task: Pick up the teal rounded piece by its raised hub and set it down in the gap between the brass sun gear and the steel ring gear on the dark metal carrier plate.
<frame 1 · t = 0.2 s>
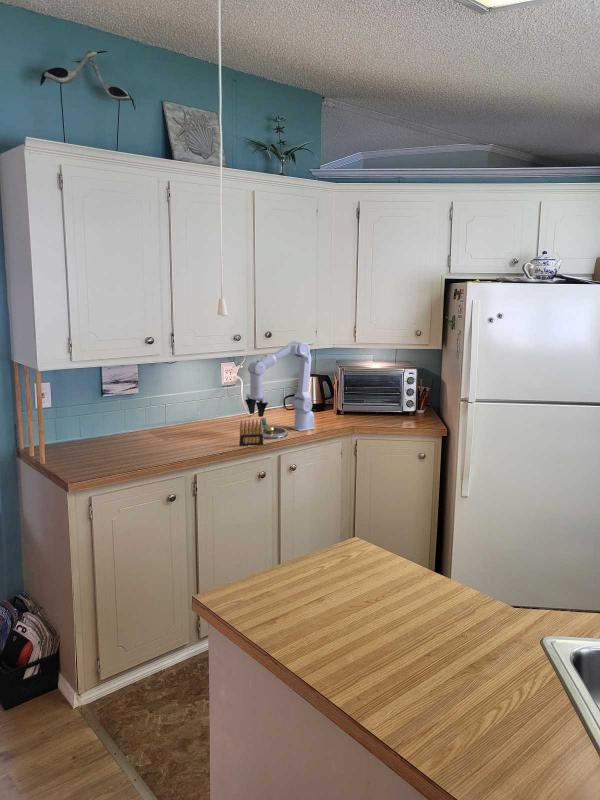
hand: (256, 415, 311), 10 cm above the counter, tool pointing down, fingers open, 7 cm apart
teal rounded piece: (263, 428, 328), on the counter
ammunition clip: (251, 445, 296), on the counter
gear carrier: (270, 434, 315), on the counter
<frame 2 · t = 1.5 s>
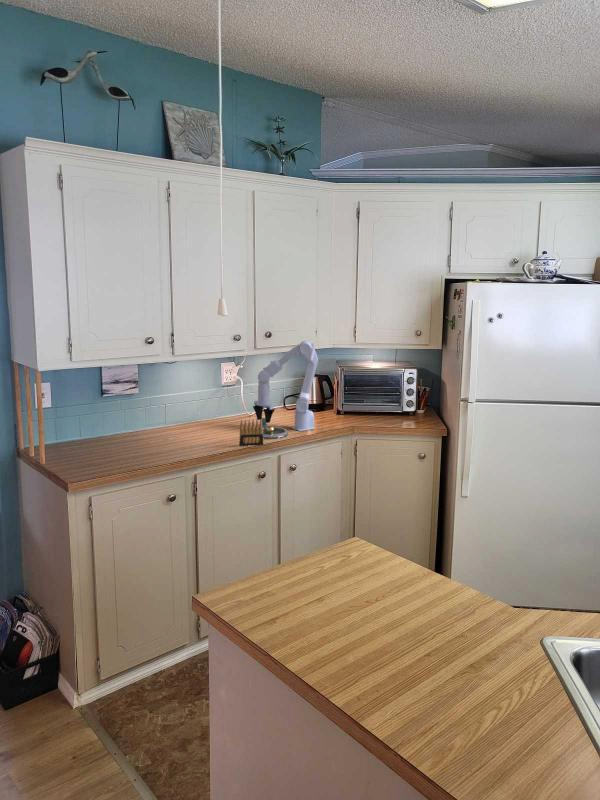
hand: (263, 421, 328), 4 cm above the counter, tool pointing down, fingers open, 7 cm apart
nothing on the counter moved.
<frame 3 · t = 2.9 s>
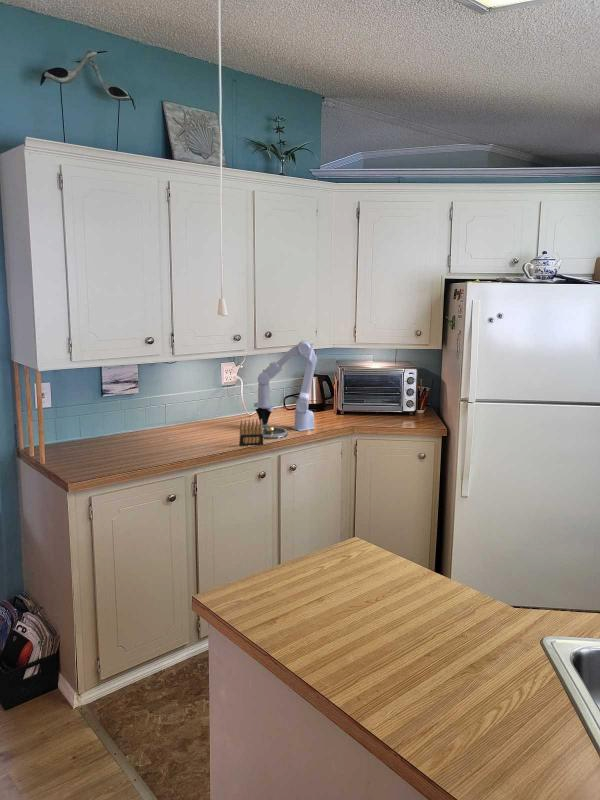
hand: (263, 423, 328), 3 cm above the counter, tool pointing down, fingers closed on teal rounded piece, 2 cm apart
teal rounded piece: (263, 428, 328), on the counter, touching gripper
everything else where it was.
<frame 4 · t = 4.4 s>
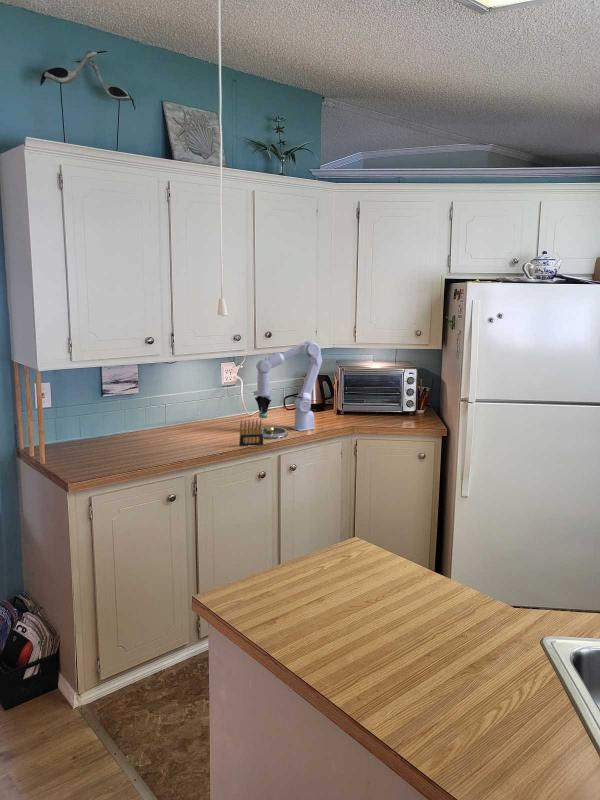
hand: (263, 411, 321), 10 cm above the counter, tool pointing down, fingers closed on teal rounded piece, 2 cm apart
teal rounded piece: (263, 417, 321), point 7 cm above the counter, touching gripper
everything else where it was.
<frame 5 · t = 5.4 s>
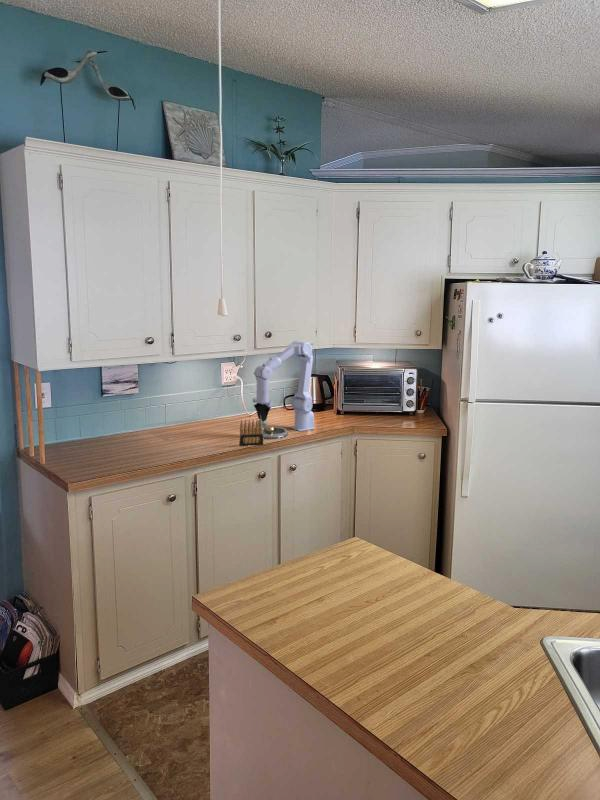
hand: (262, 419, 311), 8 cm above the counter, tool pointing down, fingers closed on teal rounded piece, 2 cm apart
teal rounded piece: (262, 424, 311), point 5 cm above the counter, touching gripper
everything else where it was.
when the fingers open (4 cm above the counter, at t = 6.2 s): teal rounded piece stays where it is, resting on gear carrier.
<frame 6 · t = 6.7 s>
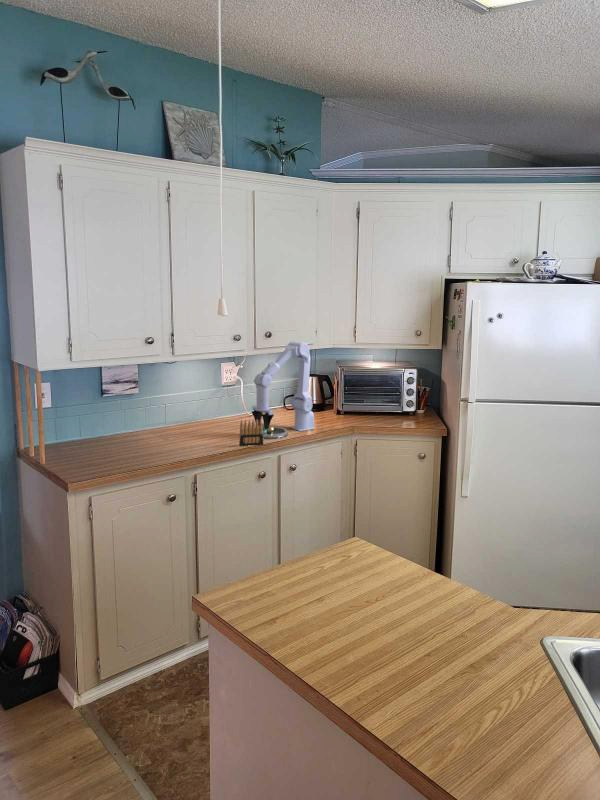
hand: (262, 427, 312), 4 cm above the counter, tool pointing down, fingers open, 6 cm apart
teal rounded piece: (262, 434, 312), point 1 cm above the counter, touching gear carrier
everything else where it was.
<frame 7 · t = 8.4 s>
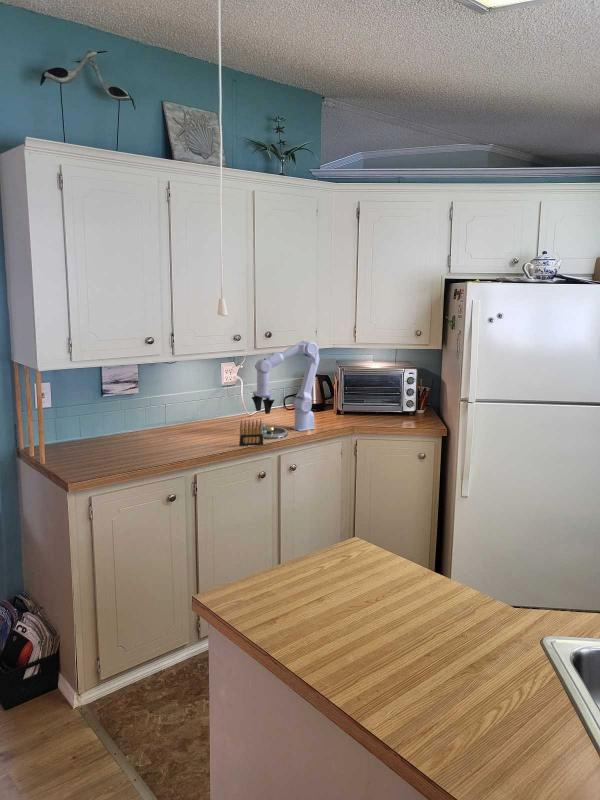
hand: (262, 412, 317), 10 cm above the counter, tool pointing down, fingers open, 7 cm apart
nothing on the counter moved.
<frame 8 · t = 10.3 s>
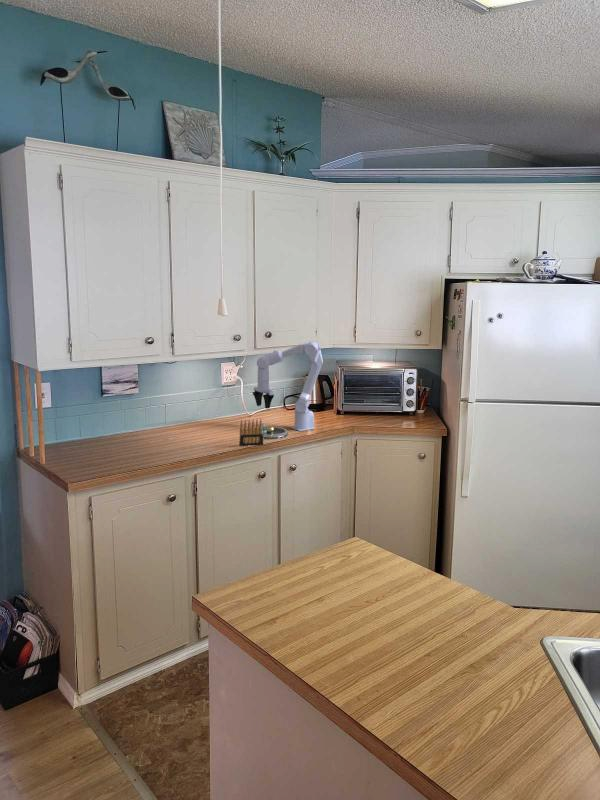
hand: (263, 407, 328), 10 cm above the counter, tool pointing down, fingers open, 7 cm apart
nothing on the counter moved.
at the end: teal rounded piece 0.1 cm from the target spot on the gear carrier, point 0.8 cm above the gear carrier's base; teal rounded piece tilted 0°; the gripper is holding nothing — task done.
